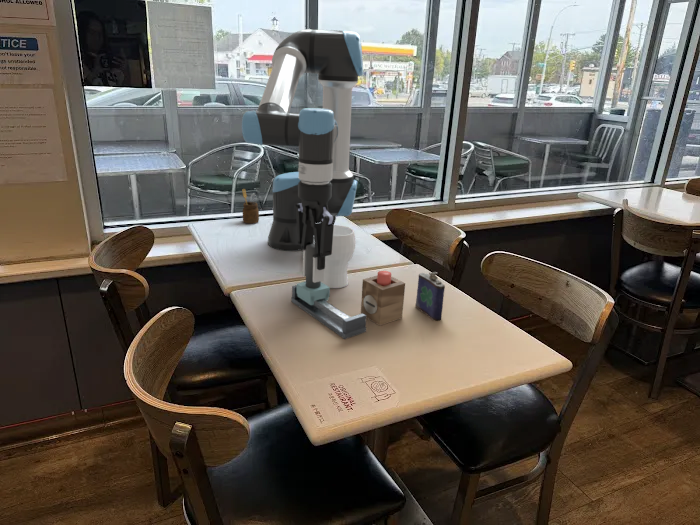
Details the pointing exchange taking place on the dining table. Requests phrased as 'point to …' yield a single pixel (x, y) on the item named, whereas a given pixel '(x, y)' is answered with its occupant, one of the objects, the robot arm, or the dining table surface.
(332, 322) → the rail track
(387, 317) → the open wooden box
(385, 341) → the dining table surface
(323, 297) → the carriage
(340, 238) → the cup
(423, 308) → the flask
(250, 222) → the utensil holder
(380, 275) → the button
